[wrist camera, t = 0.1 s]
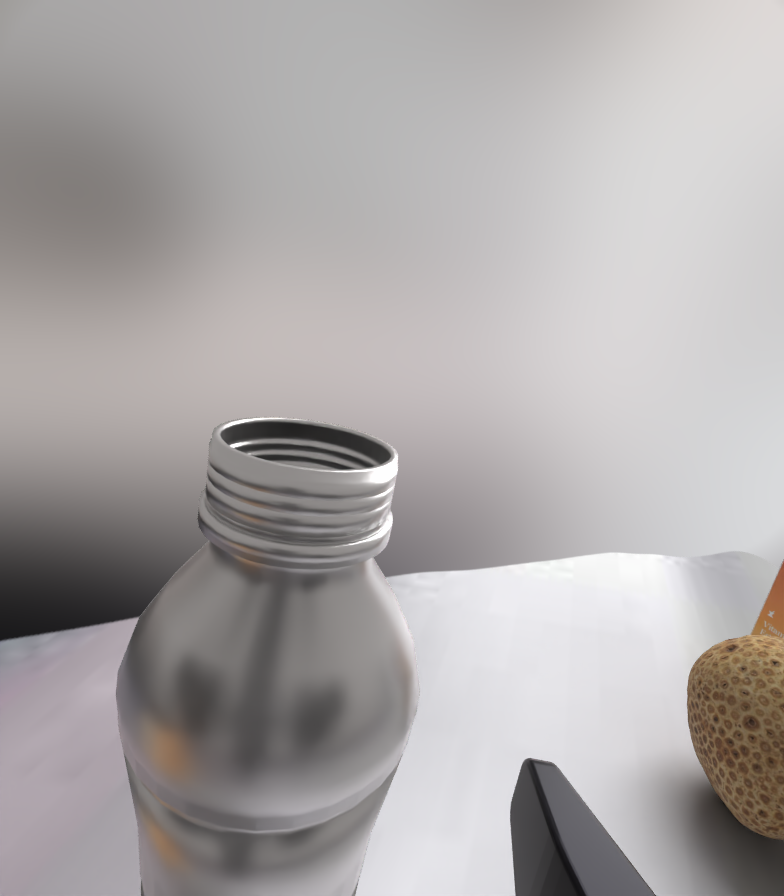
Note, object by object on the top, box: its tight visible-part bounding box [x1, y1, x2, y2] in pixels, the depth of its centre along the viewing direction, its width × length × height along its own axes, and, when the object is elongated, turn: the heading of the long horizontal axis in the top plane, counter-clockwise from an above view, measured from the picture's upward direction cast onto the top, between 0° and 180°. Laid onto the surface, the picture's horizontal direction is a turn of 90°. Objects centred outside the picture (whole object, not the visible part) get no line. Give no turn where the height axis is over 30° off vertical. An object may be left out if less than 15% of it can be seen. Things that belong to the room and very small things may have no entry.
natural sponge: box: [687, 635, 784, 840], centre depth 26 cm, size 9×9×10 cm
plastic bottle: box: [116, 417, 420, 896], centre depth 12 cm, size 6×7×20 cm
